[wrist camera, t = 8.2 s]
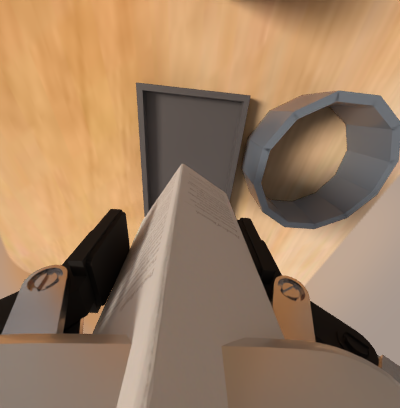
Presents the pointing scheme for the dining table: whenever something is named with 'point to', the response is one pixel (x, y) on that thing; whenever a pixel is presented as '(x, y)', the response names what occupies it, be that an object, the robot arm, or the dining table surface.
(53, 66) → the dining table surface
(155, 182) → the tray
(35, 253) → the dining table surface
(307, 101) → the grey faceted ring
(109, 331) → the skincare box
